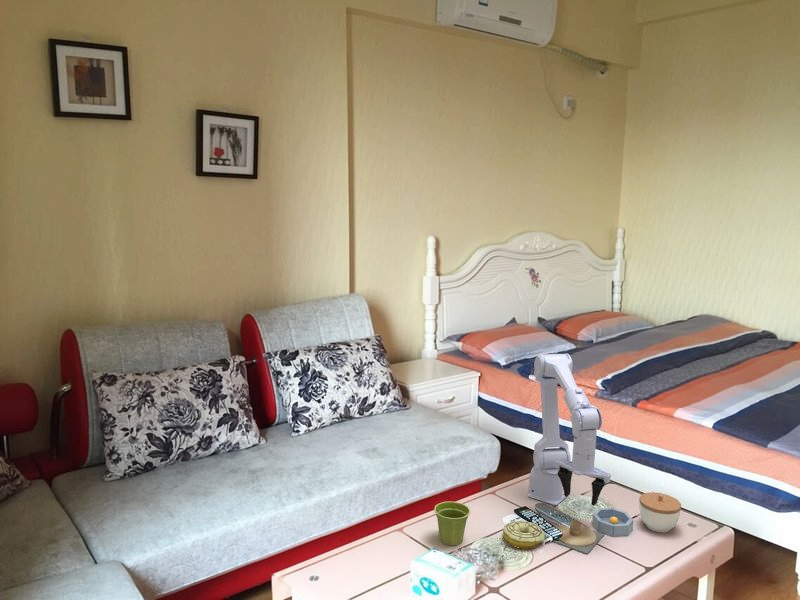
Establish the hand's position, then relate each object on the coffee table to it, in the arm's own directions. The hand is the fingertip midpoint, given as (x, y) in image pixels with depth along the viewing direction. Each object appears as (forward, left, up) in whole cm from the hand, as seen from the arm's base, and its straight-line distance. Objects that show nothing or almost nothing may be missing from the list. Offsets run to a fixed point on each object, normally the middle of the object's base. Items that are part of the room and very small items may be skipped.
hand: (580, 499), depth 175 cm
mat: (0, -3, -10) cm, 10 cm away
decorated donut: (-10, -13, -10) cm, 19 cm away
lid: (0, -2, -9) cm, 10 cm away
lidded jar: (+16, +17, -10) cm, 26 cm away
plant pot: (-25, -25, -10) cm, 37 cm away
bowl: (+6, +9, -10) cm, 15 cm away
